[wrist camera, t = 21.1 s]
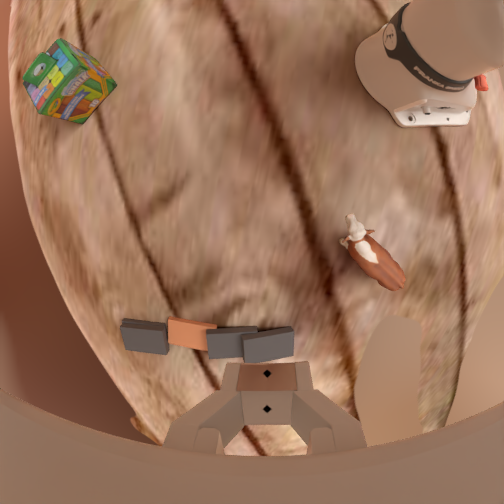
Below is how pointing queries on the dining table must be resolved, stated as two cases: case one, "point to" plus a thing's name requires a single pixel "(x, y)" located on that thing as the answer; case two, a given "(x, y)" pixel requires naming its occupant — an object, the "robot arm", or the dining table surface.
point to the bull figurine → (372, 256)
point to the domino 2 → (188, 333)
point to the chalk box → (67, 82)
